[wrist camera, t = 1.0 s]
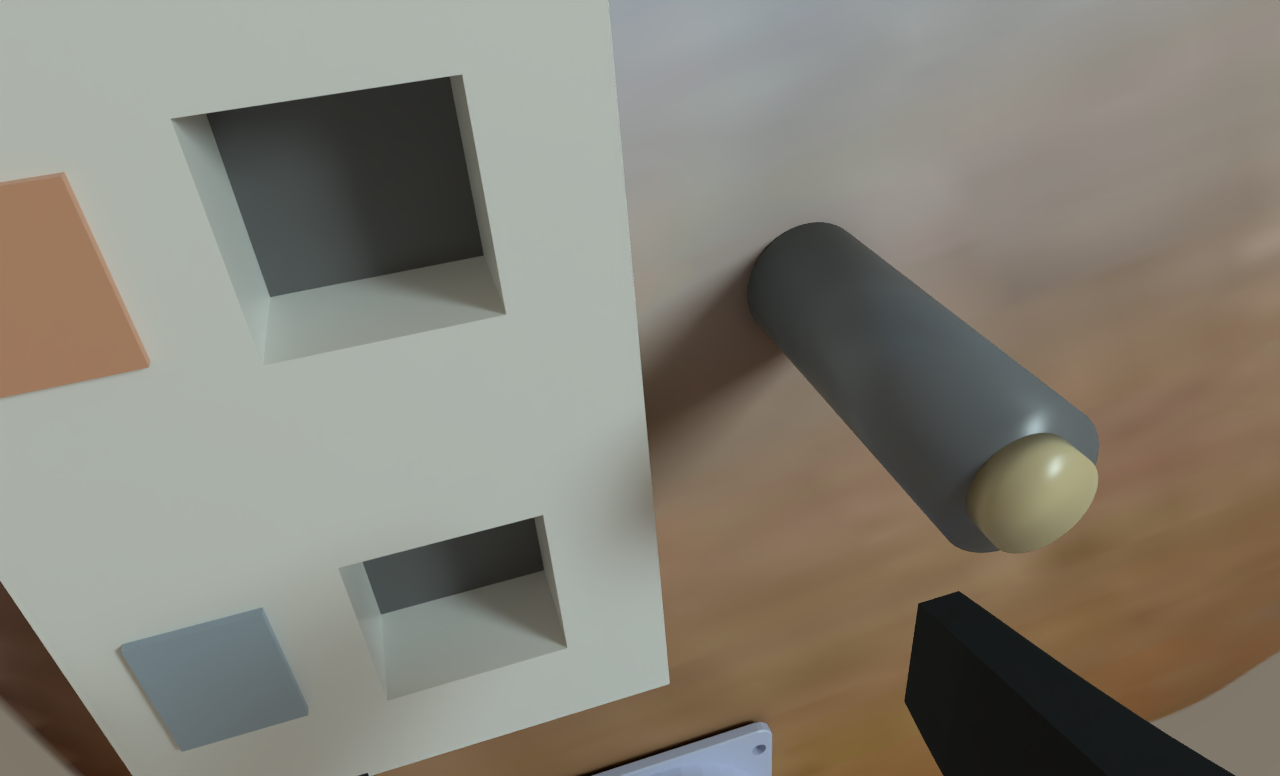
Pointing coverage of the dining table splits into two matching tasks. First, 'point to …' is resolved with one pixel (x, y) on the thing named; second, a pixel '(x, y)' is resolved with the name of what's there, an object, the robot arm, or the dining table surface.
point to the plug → (927, 393)
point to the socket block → (321, 375)
